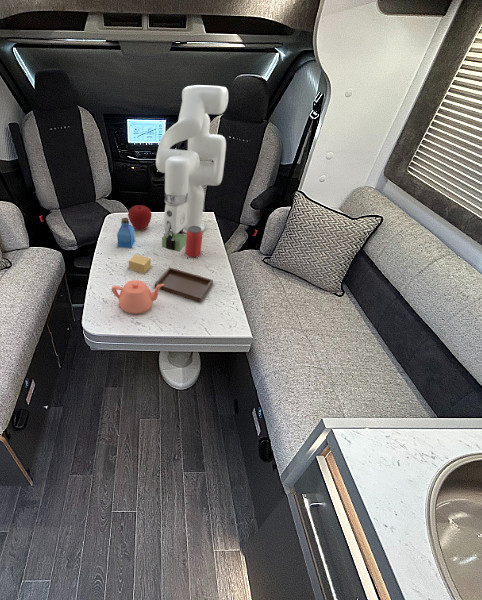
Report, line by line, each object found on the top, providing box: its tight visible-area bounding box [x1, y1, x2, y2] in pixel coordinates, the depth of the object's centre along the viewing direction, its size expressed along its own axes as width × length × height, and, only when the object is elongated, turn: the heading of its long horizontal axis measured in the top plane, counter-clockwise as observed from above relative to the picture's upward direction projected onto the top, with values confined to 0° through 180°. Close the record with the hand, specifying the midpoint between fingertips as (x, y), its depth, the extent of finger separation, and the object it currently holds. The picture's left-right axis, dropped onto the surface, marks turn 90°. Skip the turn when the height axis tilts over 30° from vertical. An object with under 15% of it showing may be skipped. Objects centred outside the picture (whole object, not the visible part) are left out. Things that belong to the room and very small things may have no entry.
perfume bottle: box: [116, 217, 136, 249], centre depth 150 cm, size 6×6×12 cm
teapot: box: [111, 279, 164, 315], centre depth 118 cm, size 12×18×10 cm
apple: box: [127, 204, 153, 231], centre depth 162 cm, size 11×11×12 cm
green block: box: [161, 233, 187, 253], centre depth 122 cm, size 6×7×4 cm
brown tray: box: [154, 266, 214, 303], centre depth 129 cm, size 13×19×2 cm
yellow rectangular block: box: [128, 253, 152, 274], centre depth 138 cm, size 6×7×4 cm
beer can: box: [185, 226, 203, 258], centre depth 144 cm, size 7×7×12 cm
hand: (174, 244), depth 123 cm, fingers closed on green block, 5 cm apart
